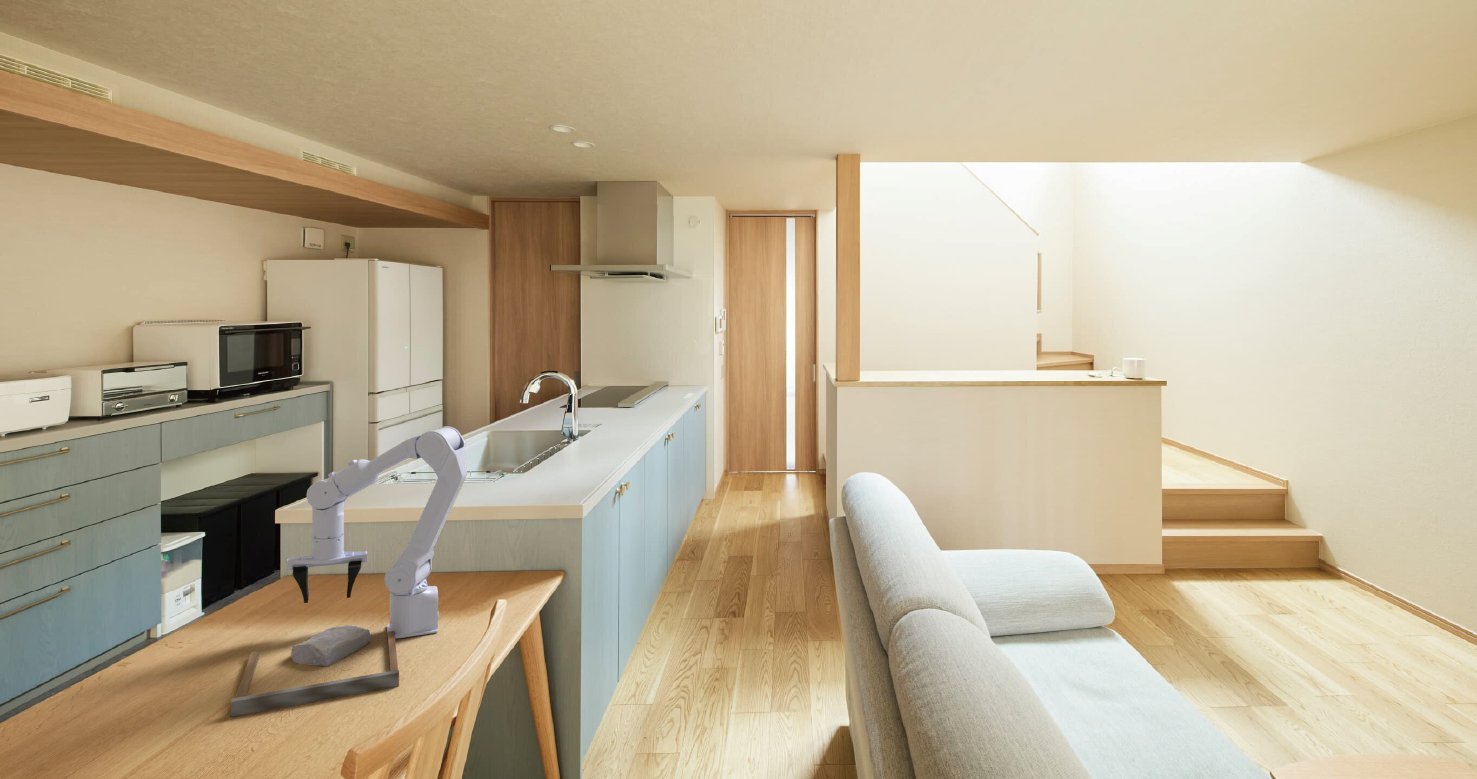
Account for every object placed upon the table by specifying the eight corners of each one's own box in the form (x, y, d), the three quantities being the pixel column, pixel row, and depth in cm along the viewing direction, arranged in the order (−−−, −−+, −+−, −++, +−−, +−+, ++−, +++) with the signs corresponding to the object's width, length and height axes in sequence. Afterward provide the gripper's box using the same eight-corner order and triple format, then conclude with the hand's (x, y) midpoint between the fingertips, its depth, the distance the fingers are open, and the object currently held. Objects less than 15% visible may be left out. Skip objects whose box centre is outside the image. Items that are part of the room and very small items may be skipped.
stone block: (285, 672, 130) (330, 668, 128) (282, 647, 130) (326, 642, 128) (334, 648, 141) (375, 644, 139) (330, 625, 142) (372, 620, 140)
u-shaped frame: (394, 636, 143) (394, 624, 142) (399, 686, 122) (399, 672, 122) (251, 657, 131) (251, 645, 131) (230, 717, 110) (230, 702, 110)
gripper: (367, 527, 150) (366, 588, 151) (288, 533, 143) (288, 597, 144) (367, 535, 144) (366, 598, 145) (285, 542, 137) (285, 608, 138)
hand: (327, 598), depth 144 cm, fingers open, 7 cm apart
